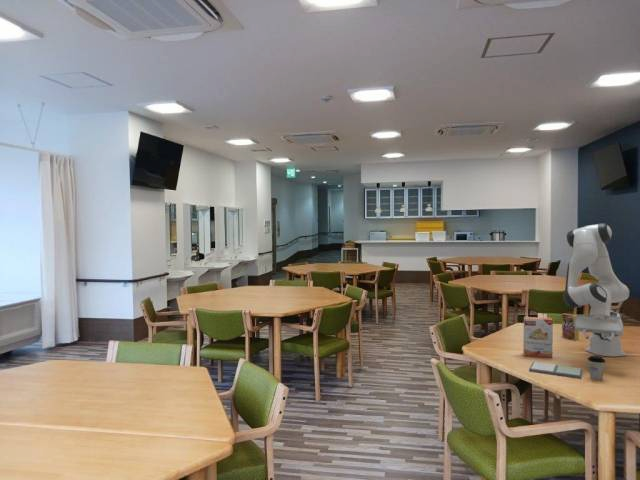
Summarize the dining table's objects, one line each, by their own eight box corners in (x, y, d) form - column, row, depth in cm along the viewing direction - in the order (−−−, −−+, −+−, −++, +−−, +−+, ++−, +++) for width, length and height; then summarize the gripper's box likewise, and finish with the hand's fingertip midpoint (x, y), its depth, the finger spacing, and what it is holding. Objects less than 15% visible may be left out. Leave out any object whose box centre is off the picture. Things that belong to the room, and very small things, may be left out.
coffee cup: (598, 376, 212) (598, 354, 212) (608, 380, 205) (608, 359, 205) (584, 376, 212) (584, 355, 212) (593, 381, 205) (593, 359, 205)
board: (533, 363, 232) (533, 361, 232) (582, 370, 220) (582, 368, 220) (529, 371, 221) (529, 368, 220) (581, 378, 209) (581, 376, 209)
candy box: (561, 337, 287) (561, 313, 287) (566, 336, 289) (566, 313, 288) (574, 340, 279) (574, 316, 278) (579, 339, 280) (579, 315, 280)
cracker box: (524, 356, 246) (524, 318, 246) (523, 353, 252) (523, 316, 251) (553, 358, 241) (552, 319, 241) (551, 355, 247) (551, 317, 247)
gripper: (575, 310, 230) (572, 333, 223) (623, 314, 218) (622, 338, 210) (576, 317, 234) (574, 340, 226) (624, 322, 222) (623, 346, 214)
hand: (597, 339), depth 218 cm, fingers open, 8 cm apart
